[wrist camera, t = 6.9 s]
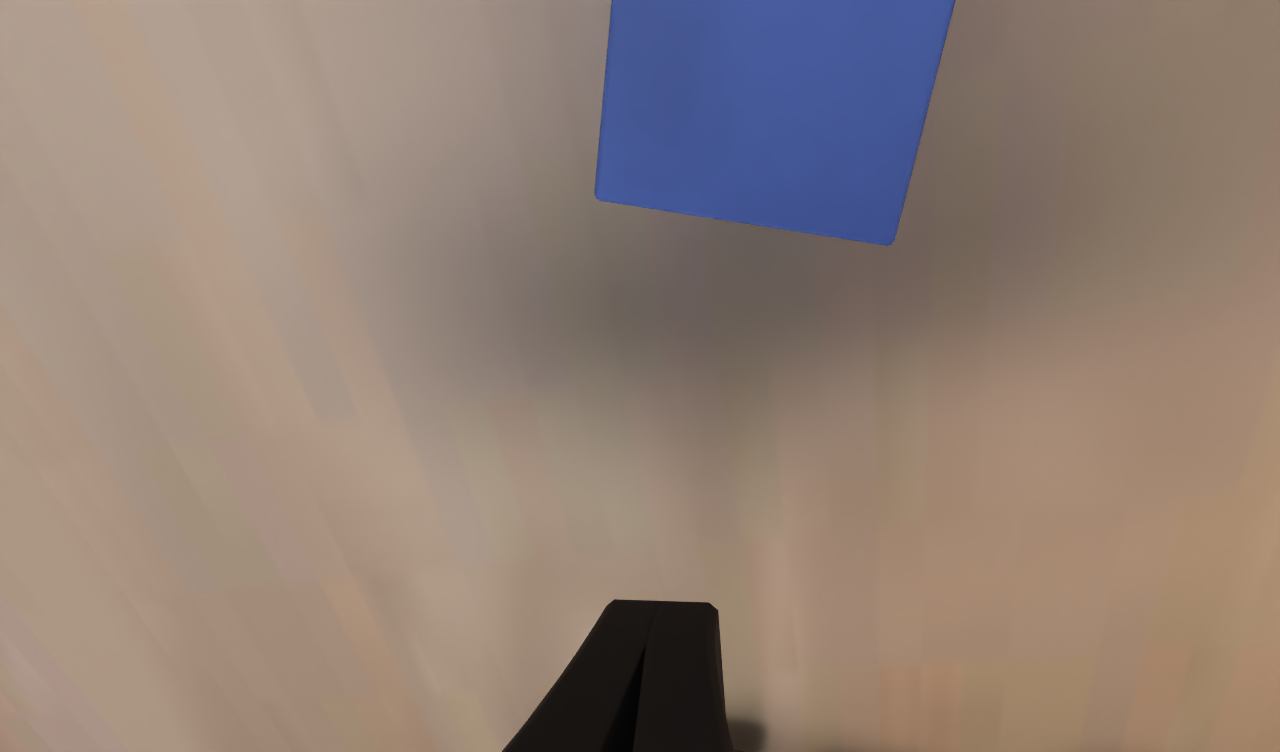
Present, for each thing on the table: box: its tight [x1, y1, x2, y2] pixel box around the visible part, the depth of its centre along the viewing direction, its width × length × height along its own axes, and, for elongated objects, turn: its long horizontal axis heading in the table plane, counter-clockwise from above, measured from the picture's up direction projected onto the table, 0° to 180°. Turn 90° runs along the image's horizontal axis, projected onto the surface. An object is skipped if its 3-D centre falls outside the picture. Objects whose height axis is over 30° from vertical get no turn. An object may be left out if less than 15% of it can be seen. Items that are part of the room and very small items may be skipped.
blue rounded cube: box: [594, 0, 955, 246], centre depth 15 cm, size 4×4×4 cm
